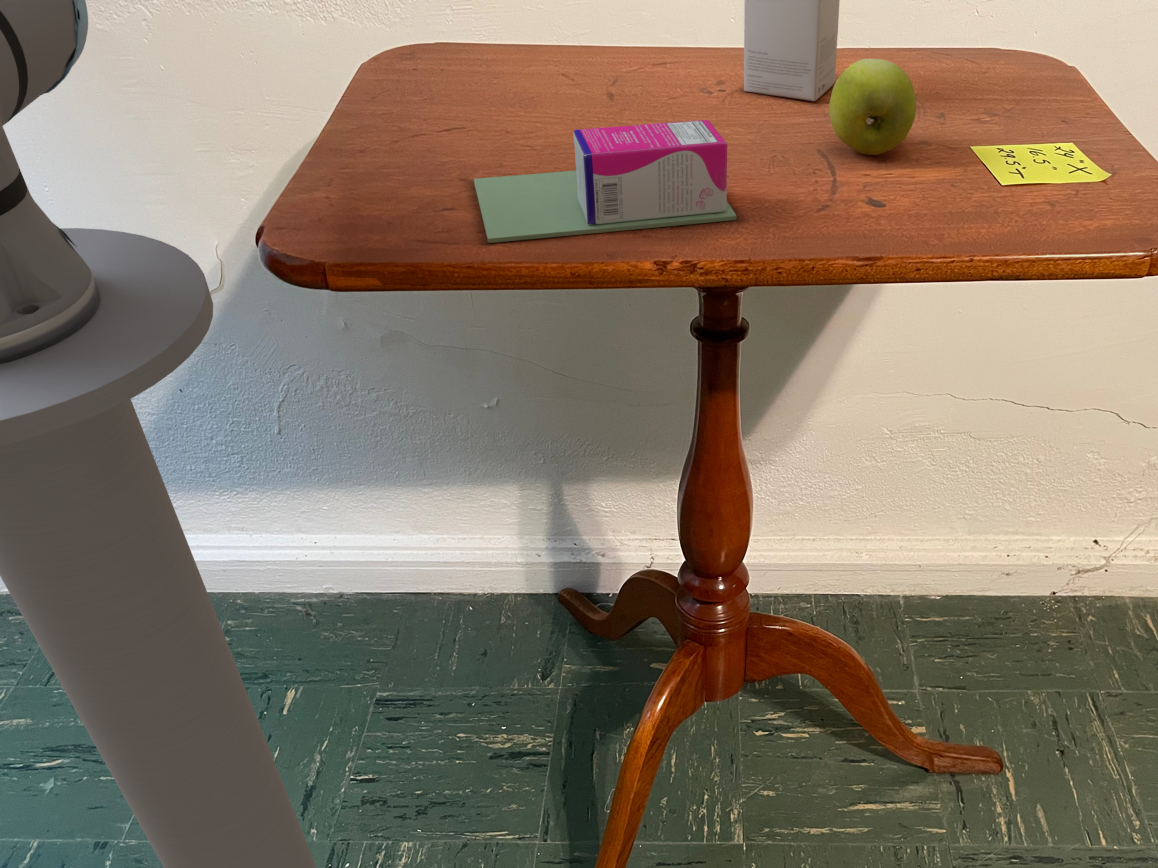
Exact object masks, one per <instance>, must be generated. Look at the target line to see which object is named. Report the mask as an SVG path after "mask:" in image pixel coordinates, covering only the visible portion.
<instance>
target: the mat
mask: <svg viewBox="0 0 1158 868" xmlns="http://www.w3.org/2000/svg"><path fill="white" fill-rule="evenodd" d="M473 184H474V190H475V194H476V197H477V202H478V205H479V209H480V214H481V217H482V218H481V219H482V222H483V226H484V230H485V235H486V239H487V243H488V244H494V243H504V242H515V241H525V240H526V241H527V240H536V239H538V240H539V239H549V238H559V237H571V236H580V235H591V234H602V233H612V232H622V231H623V232H624V231H634V230H643V229H653V228H654V229H655V228H665V227H666V228H667V227H678V226H687V225H696V224H708V223H719V222H729V221H731V222H732V221H737V214H736V212H735V211H734V209H733V208H732V206H731V205H730V203H729V202H728V200H727V199H726V211H725V212H717V213H706V214H697V215H686V216H676V217H666V218H656V219H646V220H637V221H627V222H616V223H607V224H594V225H588V223H587V221H586V219H585V216H584V213H583V210H582V208H581V206H580V203H579V200H578V194H577V174H576V170H568V171H567V170H566V171H554V172H553V171H551V172H542V173H529V174H516V175H504V176H492V177H491V176H490V177H479V178H473Z"/></svg>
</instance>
